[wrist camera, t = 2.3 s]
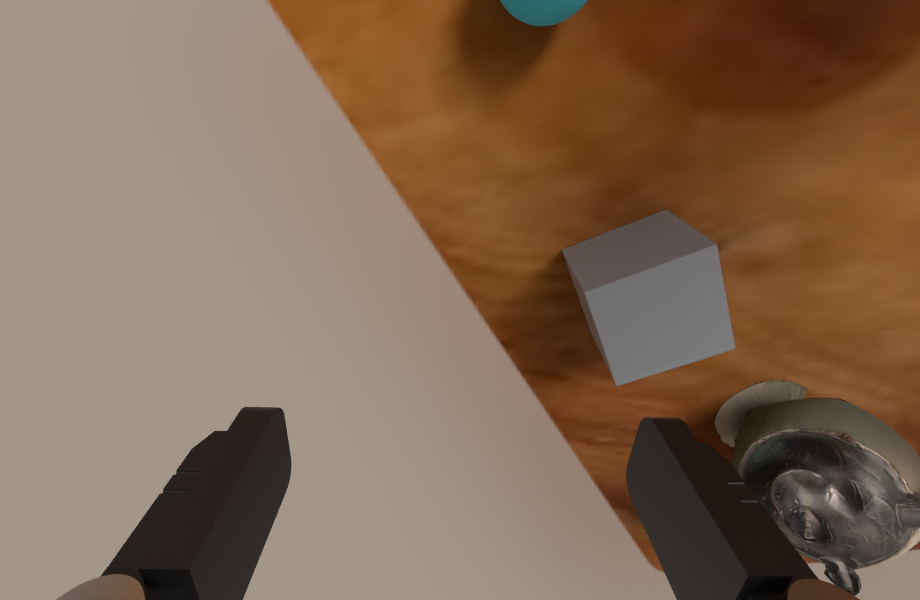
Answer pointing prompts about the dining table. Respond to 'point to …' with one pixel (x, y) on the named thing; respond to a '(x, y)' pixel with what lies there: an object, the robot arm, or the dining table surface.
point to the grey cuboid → (651, 296)
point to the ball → (542, 10)
